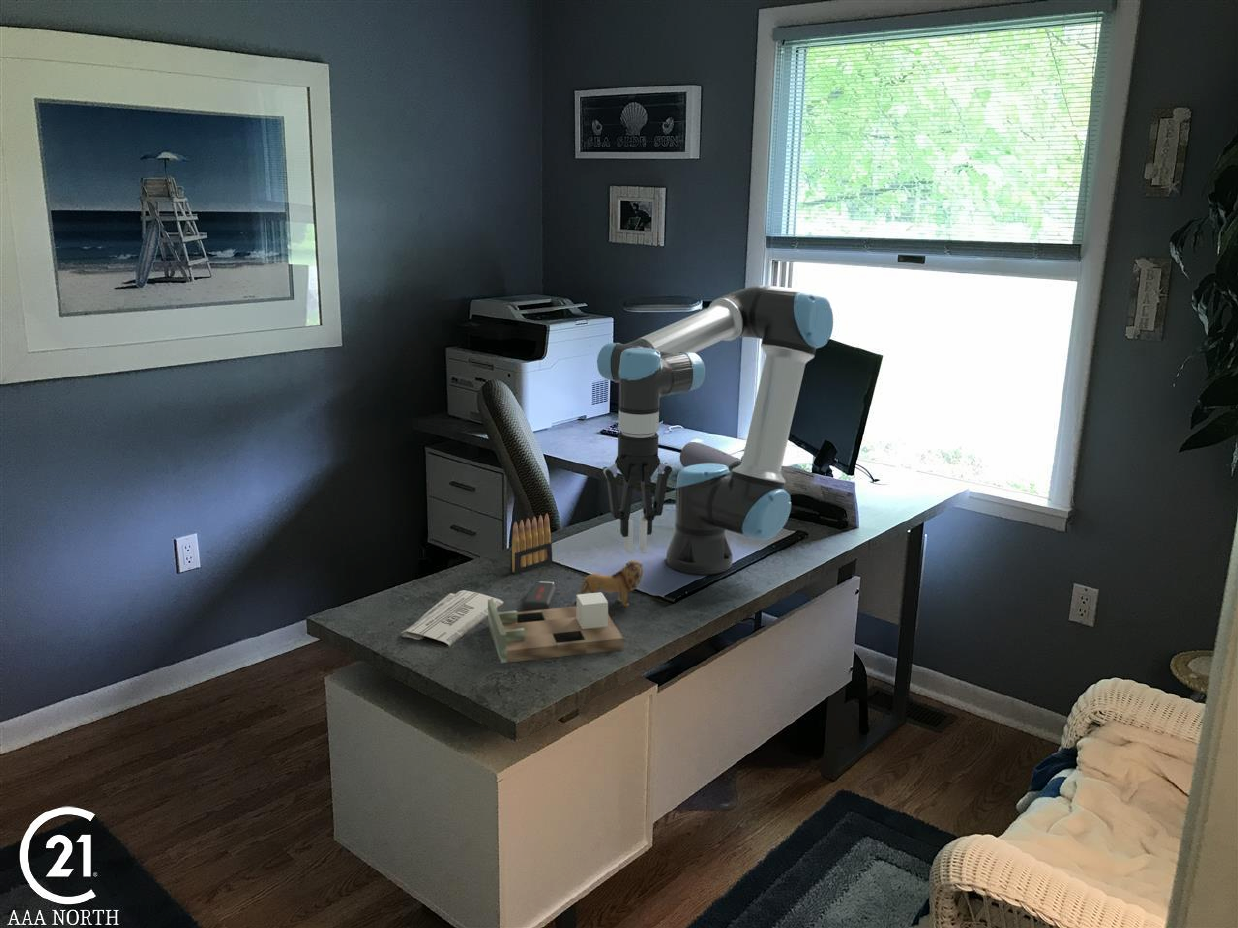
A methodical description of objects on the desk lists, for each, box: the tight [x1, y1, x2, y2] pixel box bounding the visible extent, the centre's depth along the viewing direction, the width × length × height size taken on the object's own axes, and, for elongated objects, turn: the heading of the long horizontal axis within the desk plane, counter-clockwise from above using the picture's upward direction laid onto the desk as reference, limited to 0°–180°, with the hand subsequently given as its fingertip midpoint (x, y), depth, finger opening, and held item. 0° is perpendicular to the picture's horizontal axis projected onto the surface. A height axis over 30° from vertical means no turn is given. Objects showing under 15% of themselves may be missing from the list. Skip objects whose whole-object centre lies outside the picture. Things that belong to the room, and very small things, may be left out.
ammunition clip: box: [509, 513, 553, 575], centre depth 227 cm, size 11×2×12 cm, turn 133°
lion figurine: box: [573, 560, 644, 608], centre depth 209 cm, size 15×5×9 cm, turn 106°
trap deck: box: [487, 599, 624, 664], centre depth 194 cm, size 23×16×6 cm
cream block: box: [576, 591, 609, 629], centre depth 195 cm, size 5×5×5 cm
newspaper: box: [400, 589, 504, 647], centre depth 202 cm, size 23×12×2 cm, turn 158°
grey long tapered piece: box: [678, 441, 742, 476], centre depth 292 cm, size 23×9×10 cm, turn 30°
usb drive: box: [523, 580, 557, 611], centre depth 211 cm, size 5×12×3 cm, turn 174°
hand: (635, 550), depth 194 cm, fingers open, 2 cm apart
